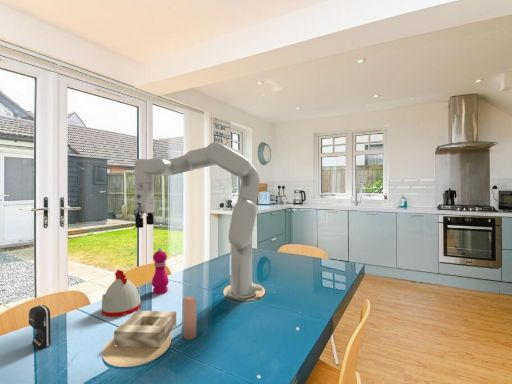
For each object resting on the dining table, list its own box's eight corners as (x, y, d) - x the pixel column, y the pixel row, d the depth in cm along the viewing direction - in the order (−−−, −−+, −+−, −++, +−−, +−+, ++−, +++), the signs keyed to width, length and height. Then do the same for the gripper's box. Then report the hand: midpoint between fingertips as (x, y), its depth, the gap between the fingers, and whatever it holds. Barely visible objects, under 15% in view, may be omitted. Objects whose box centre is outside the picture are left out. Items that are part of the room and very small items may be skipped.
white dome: (130, 298, 120) (129, 263, 120) (147, 307, 112) (146, 269, 111) (95, 310, 110) (94, 271, 109) (111, 320, 101) (110, 279, 100)
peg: (197, 333, 92) (197, 296, 92) (194, 339, 88) (193, 301, 88) (185, 332, 92) (185, 296, 92) (181, 339, 88) (181, 301, 88)
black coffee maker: (27, 344, 86) (27, 307, 86) (42, 338, 89) (42, 302, 89) (36, 352, 82) (35, 313, 82) (51, 345, 85) (50, 308, 85)
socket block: (176, 324, 98) (176, 311, 98) (159, 347, 84) (159, 332, 84) (137, 323, 99) (137, 310, 99) (114, 346, 85) (114, 331, 85)
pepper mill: (163, 295, 124) (163, 250, 123) (148, 294, 125) (148, 249, 125) (171, 289, 131) (171, 246, 130) (157, 288, 132) (156, 245, 132)
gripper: (142, 187, 115) (143, 229, 116) (160, 187, 133) (161, 223, 133) (125, 187, 116) (126, 229, 117) (145, 187, 133) (146, 223, 134)
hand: (145, 225), depth 125 cm, fingers open, 9 cm apart
